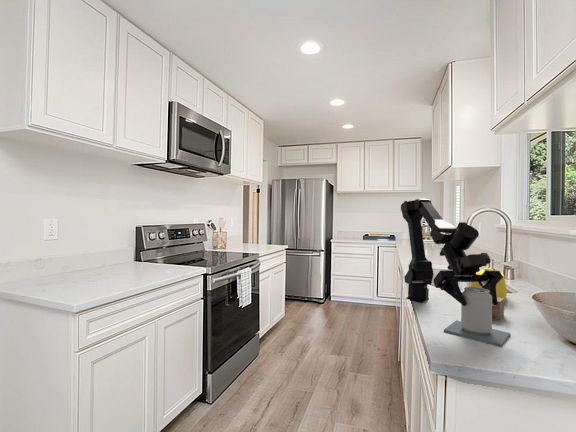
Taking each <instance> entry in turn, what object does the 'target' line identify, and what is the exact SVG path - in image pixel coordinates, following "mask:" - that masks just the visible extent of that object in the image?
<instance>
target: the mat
mask: <svg viewBox="0 0 576 432" xmlns="http://www.w3.org/2000/svg"><path fill="white" fill-rule="evenodd" d="M443 332H445V333H448V334H452V335H456V336H459V337H463V338H467V339H470V340H475V341H478V342H481V343H486V344H488V345H492V346H497V347H500V348H501V347H503V345H504V344H505V342H506V341H507V340H508V339H509V337H510V336H511V333H510V332H508V331H502V330H500V329H495V328H492V331H491V332H489V333H488V334H486V335H478V334H473V333H470V332H467V331H466V330H464V328H463V327H462V326H461V320H456V319H455V321H454V322H452V323H450V324H449V325H448V326H447V327H445V328H444V329H443Z"/></svg>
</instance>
